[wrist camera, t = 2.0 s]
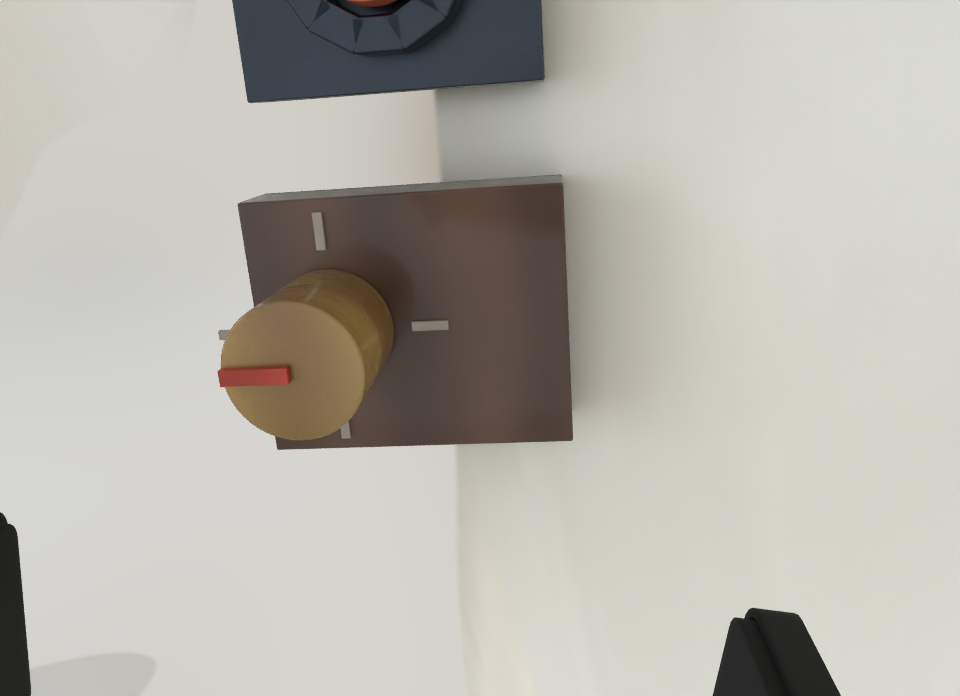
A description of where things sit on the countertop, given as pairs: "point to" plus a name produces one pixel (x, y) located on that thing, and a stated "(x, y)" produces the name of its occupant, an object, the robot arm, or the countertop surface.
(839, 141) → the countertop surface
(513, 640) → the countertop surface
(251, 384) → the knob
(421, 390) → the panel
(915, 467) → the countertop surface
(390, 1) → the button
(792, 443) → the countertop surface
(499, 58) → the button block
